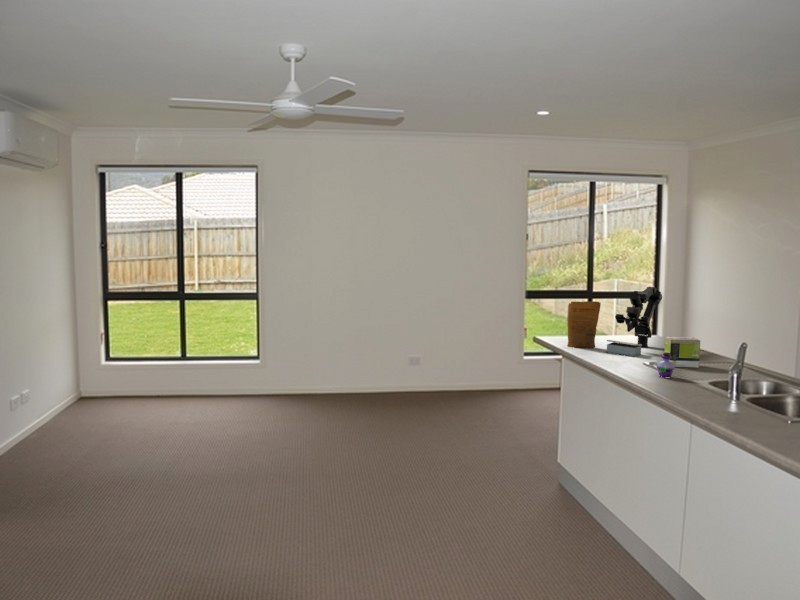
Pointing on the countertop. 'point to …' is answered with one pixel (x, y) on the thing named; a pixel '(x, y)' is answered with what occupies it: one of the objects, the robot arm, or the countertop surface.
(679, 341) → the tea box
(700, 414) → the countertop surface
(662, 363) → the potion bottle
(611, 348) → the slate box
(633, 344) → the birch lid
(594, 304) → the pancake mix bag
